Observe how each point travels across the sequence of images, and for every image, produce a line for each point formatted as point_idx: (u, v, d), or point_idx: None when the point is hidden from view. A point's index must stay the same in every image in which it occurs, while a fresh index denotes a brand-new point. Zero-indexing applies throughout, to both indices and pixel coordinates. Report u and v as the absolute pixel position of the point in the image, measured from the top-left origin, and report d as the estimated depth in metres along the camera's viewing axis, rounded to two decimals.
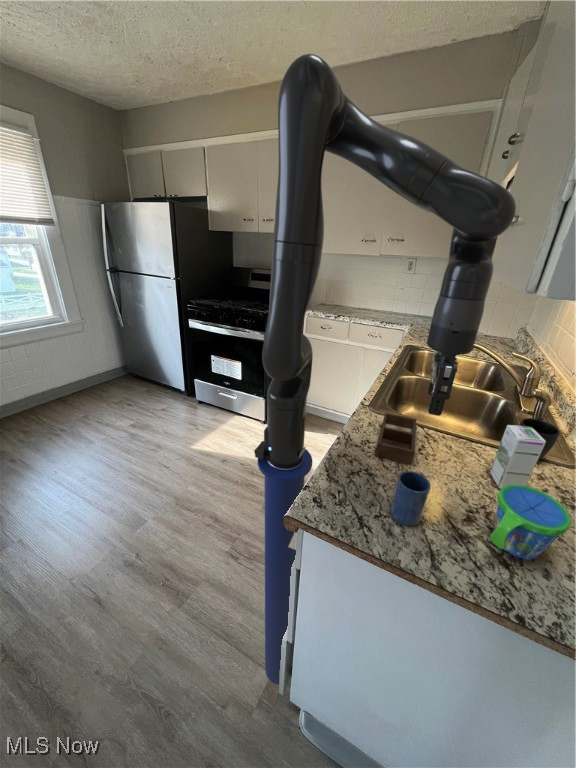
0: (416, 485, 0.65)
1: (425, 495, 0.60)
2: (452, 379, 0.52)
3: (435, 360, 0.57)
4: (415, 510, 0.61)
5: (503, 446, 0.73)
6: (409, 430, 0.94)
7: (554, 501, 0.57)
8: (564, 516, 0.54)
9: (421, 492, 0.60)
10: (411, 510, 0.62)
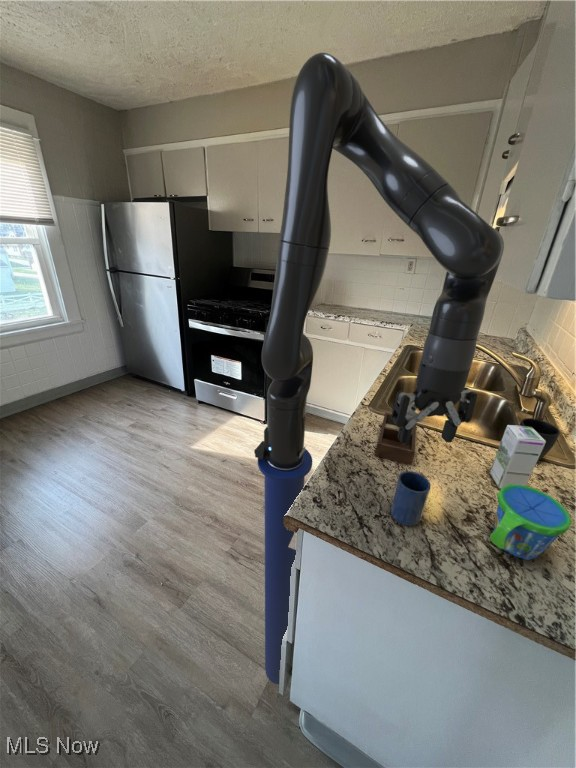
0: (416, 485, 0.65)
1: (425, 495, 0.60)
2: (400, 407, 0.53)
3: None
4: (415, 510, 0.61)
5: (503, 446, 0.73)
6: None
7: (554, 501, 0.57)
8: (564, 516, 0.54)
9: (421, 492, 0.60)
10: (411, 510, 0.62)
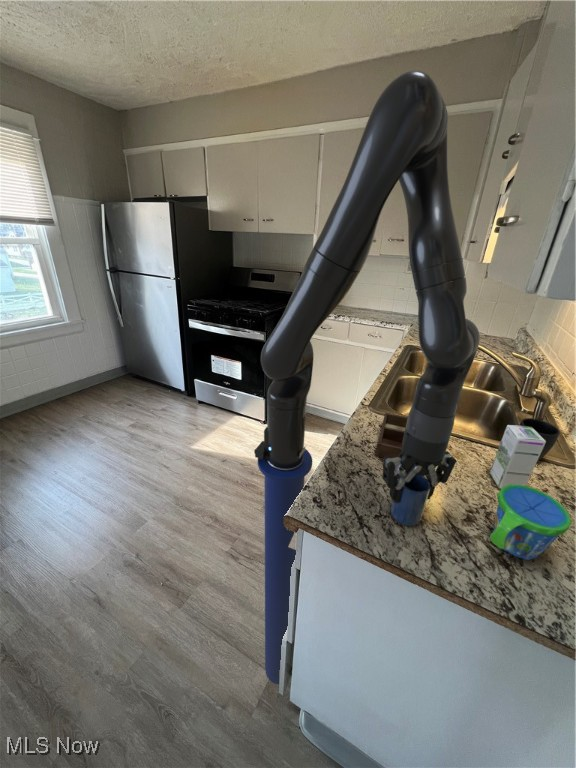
0: (416, 485, 0.65)
1: (425, 495, 0.60)
2: (387, 472, 0.59)
3: None
4: (415, 510, 0.61)
5: (503, 446, 0.73)
6: None
7: (554, 501, 0.57)
8: (564, 516, 0.54)
9: (421, 492, 0.60)
10: (411, 510, 0.62)
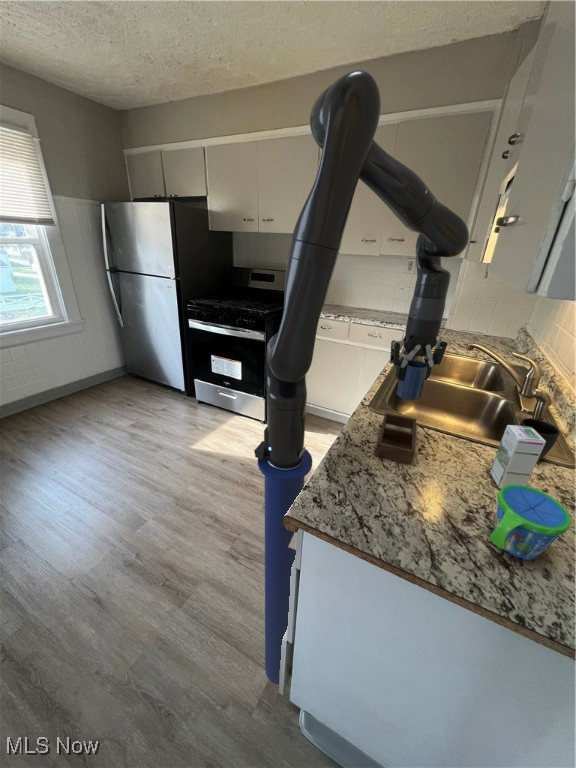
0: None
1: (423, 371, 0.78)
2: (394, 351, 0.76)
3: None
4: (416, 385, 0.79)
5: (503, 446, 0.73)
6: (409, 430, 0.94)
7: (554, 501, 0.57)
8: (564, 516, 0.54)
9: (420, 368, 0.77)
10: (412, 385, 0.79)
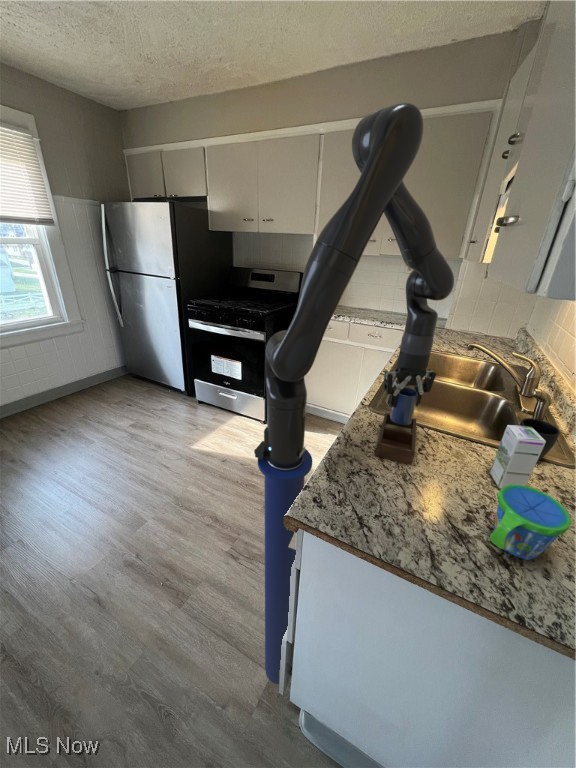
0: None
1: (414, 399, 0.85)
2: (387, 381, 0.83)
3: None
4: (407, 411, 0.86)
5: (503, 446, 0.73)
6: (409, 430, 0.94)
7: (554, 501, 0.57)
8: (564, 516, 0.54)
9: (411, 396, 0.84)
10: (404, 411, 0.86)
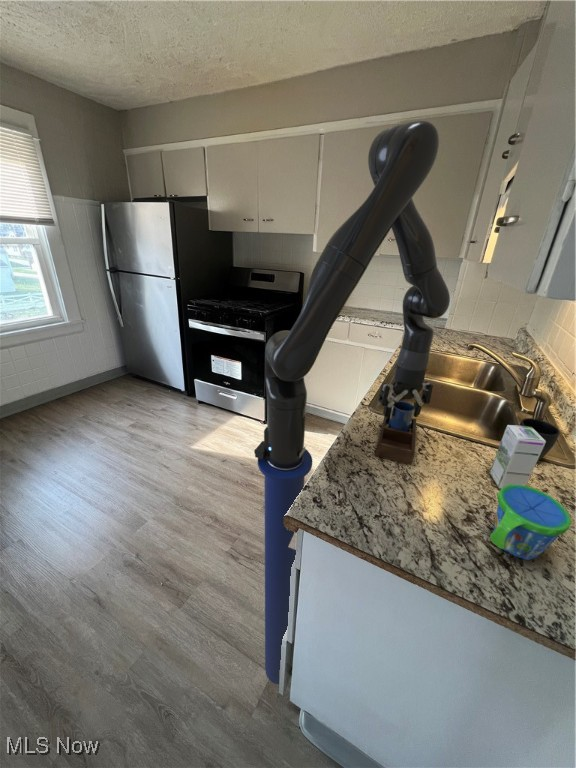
0: (405, 411, 0.91)
1: (411, 414, 0.87)
2: (384, 393, 0.85)
3: None
4: (404, 425, 0.88)
5: (503, 446, 0.73)
6: None
7: (554, 501, 0.57)
8: (564, 516, 0.54)
9: (408, 411, 0.86)
10: (401, 425, 0.88)
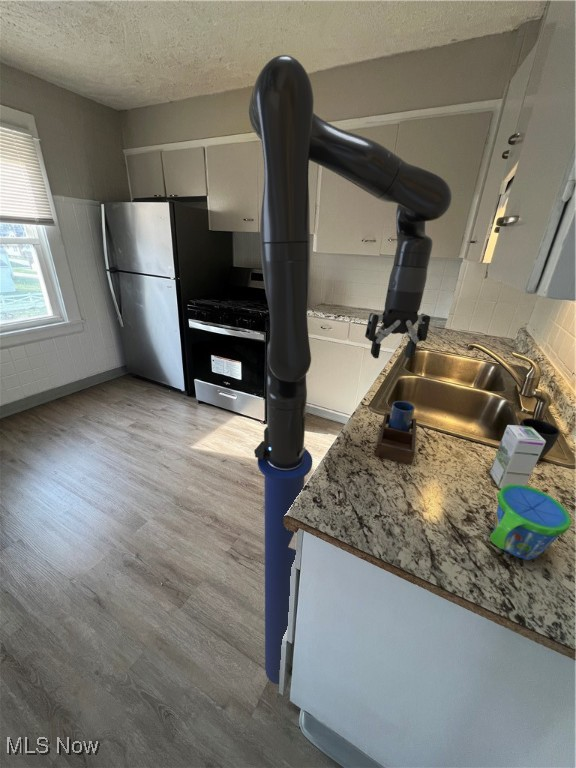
0: (405, 411, 0.91)
1: (411, 414, 0.87)
2: (371, 323, 0.70)
3: None
4: (404, 425, 0.88)
5: (503, 446, 0.73)
6: None
7: (554, 501, 0.57)
8: (564, 516, 0.54)
9: (408, 411, 0.86)
10: (401, 425, 0.88)
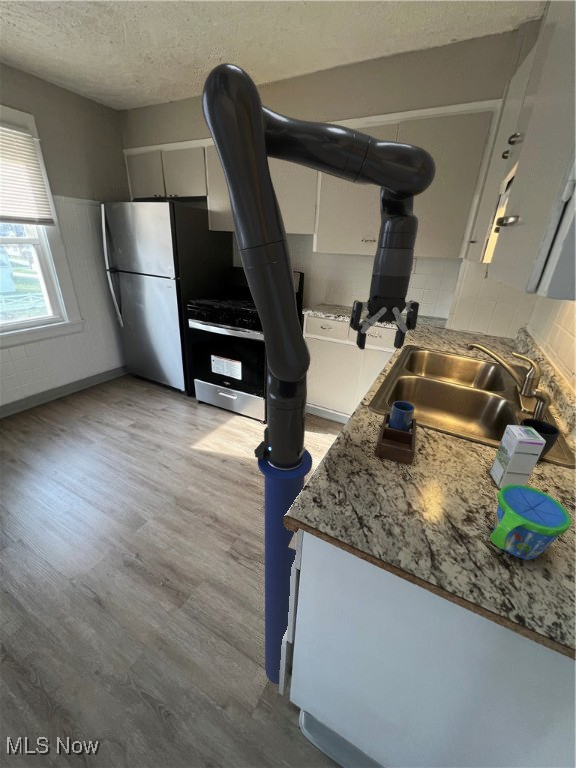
0: (405, 411, 0.91)
1: (411, 414, 0.87)
2: (355, 312, 0.65)
3: None
4: (404, 425, 0.88)
5: (503, 446, 0.73)
6: None
7: (554, 501, 0.57)
8: (564, 516, 0.54)
9: (408, 411, 0.86)
10: (401, 425, 0.88)
